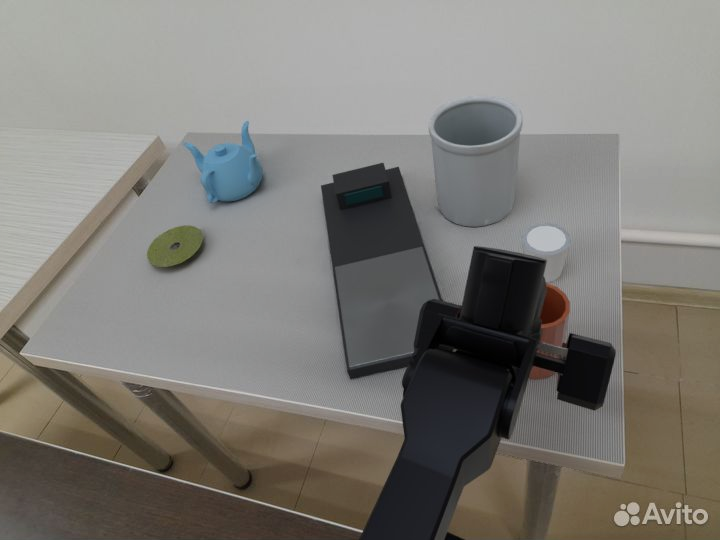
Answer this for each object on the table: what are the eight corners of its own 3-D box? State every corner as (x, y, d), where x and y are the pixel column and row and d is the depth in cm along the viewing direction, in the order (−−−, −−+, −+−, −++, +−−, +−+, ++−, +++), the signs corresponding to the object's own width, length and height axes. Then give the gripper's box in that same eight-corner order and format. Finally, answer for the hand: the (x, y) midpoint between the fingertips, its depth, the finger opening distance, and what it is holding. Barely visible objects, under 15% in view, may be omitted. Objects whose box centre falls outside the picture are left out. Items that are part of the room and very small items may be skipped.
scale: (458, 355, 75) (455, 329, 71) (350, 379, 76) (340, 355, 71) (400, 176, 106) (395, 149, 101) (323, 194, 106) (315, 169, 102)
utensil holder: (525, 180, 98) (530, 95, 85) (510, 235, 89) (512, 149, 76) (448, 173, 103) (442, 92, 91) (427, 224, 95) (416, 143, 82)
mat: (152, 242, 106) (147, 235, 105) (205, 225, 107) (201, 218, 105) (150, 280, 99) (145, 273, 97) (207, 262, 99) (203, 255, 98)
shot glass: (518, 283, 82) (519, 252, 77) (522, 251, 86) (524, 220, 81) (565, 288, 80) (569, 256, 75) (567, 255, 84) (571, 223, 79)
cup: (569, 372, 70) (579, 319, 62) (518, 384, 71) (521, 333, 62) (549, 331, 75) (556, 276, 66) (501, 342, 75) (502, 289, 67)
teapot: (207, 217, 109) (186, 178, 101) (201, 177, 119) (181, 139, 112) (274, 194, 110) (258, 153, 102) (262, 156, 120) (247, 117, 113)
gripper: (632, 302, 40) (628, 286, 54) (409, 254, 48) (456, 250, 62) (598, 436, 42) (603, 387, 56) (388, 368, 50) (439, 340, 64)
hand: (521, 336), depth 59 cm, fingers open, 9 cm apart
